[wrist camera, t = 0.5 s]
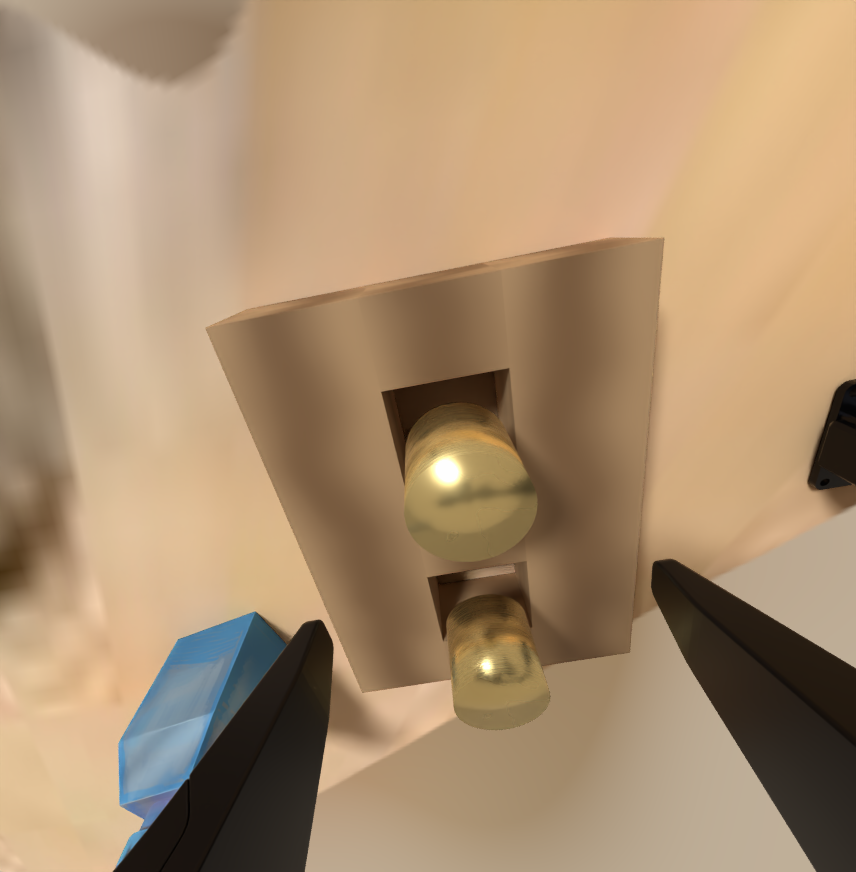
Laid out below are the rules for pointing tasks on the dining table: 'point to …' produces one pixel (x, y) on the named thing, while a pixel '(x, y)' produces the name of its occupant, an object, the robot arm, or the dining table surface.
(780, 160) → the dining table surface
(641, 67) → the dining table surface
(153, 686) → the perfume bottle
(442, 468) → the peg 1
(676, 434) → the dining table surface
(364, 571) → the socket board
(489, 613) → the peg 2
